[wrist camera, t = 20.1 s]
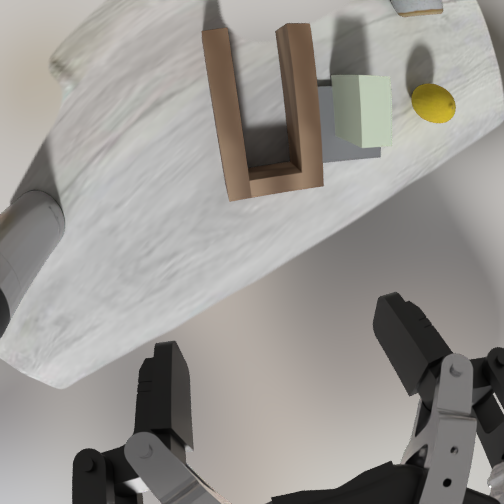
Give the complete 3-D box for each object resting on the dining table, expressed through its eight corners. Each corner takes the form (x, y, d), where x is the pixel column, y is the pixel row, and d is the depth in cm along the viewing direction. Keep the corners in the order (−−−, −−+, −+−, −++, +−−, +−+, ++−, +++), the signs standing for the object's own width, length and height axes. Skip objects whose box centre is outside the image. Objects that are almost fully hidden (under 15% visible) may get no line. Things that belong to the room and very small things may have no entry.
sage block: (335, 135, 34) (361, 148, 28) (331, 75, 30) (358, 74, 24) (362, 134, 34) (391, 146, 28) (359, 75, 30) (390, 76, 24)
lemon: (412, 74, 31) (450, 78, 24) (433, 99, 33) (470, 108, 26) (394, 100, 33) (432, 108, 26) (417, 124, 35) (453, 137, 28)
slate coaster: (312, 162, 36) (314, 163, 36) (306, 86, 31) (308, 87, 30) (377, 155, 37) (380, 157, 36) (376, 86, 32) (379, 87, 31)
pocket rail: (226, 186, 36) (229, 201, 32) (201, 39, 26) (201, 31, 22) (309, 173, 37) (323, 186, 33) (295, 30, 27) (309, 23, 23)
